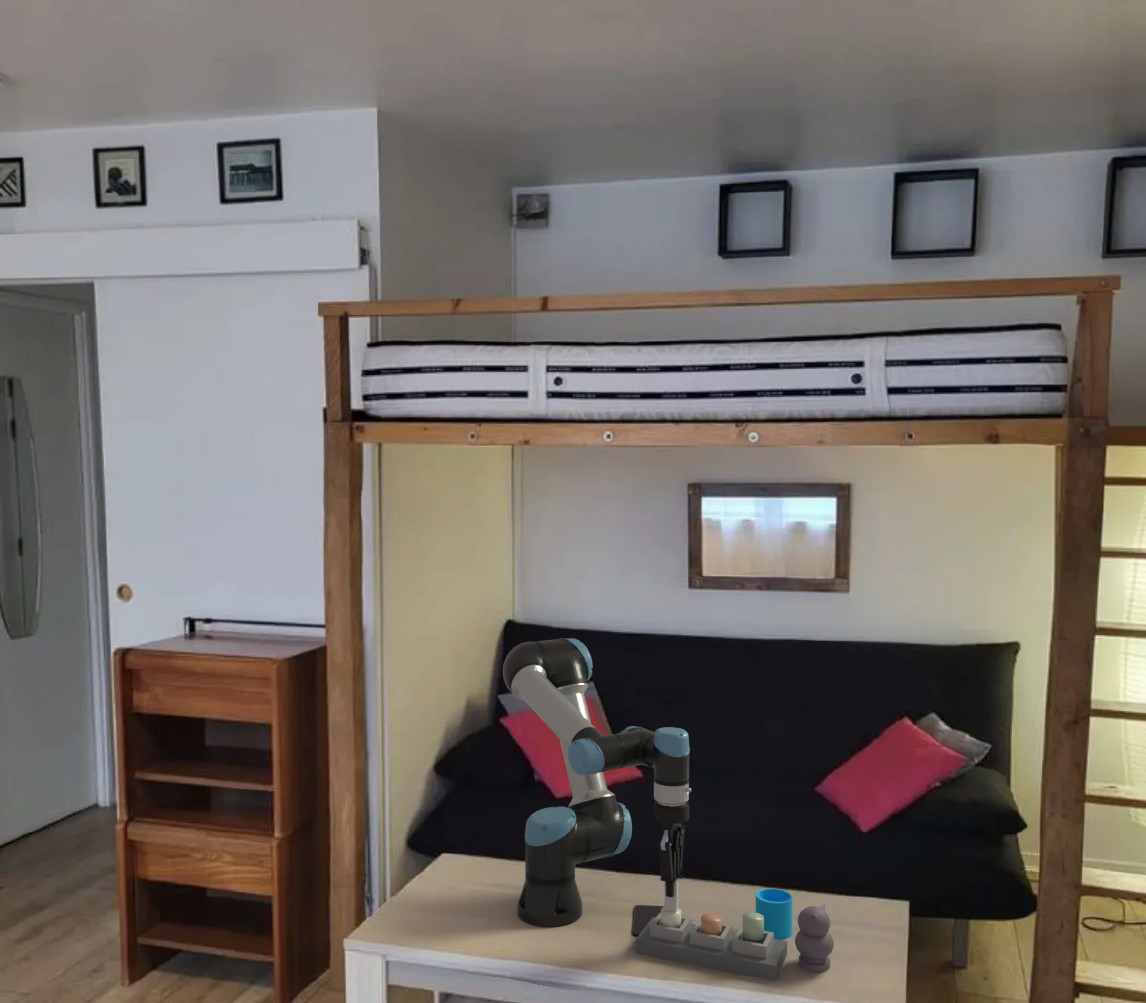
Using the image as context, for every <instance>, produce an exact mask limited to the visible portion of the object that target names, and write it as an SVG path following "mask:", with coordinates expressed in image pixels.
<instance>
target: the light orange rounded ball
mask: <svg viewBox="0 0 1146 1003" xmlns="http://www.w3.org/2000/svg"><path fill="white" fill-rule="evenodd" d="M700 919H701V933H705V934H711V935H716V936H721V934H722V923H723V918H722V916H720V915H719V914H716V913H706V914H703V915H701V917H700Z"/></svg>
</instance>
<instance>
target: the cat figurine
mask: <svg viewBox="0 0 1146 1003" xmlns="http://www.w3.org/2000/svg"><path fill="white" fill-rule="evenodd" d="M797 924H798V928H799V931H797V933H796V935H795V937H794V944H795V948H796V950H797V951H798V953H799V955H798V965H799V967H800V968H802V969H803V970H805V971H808V972H812V973H824V972H827V971H828V970H830V968H831V959H830V957H829V956H830V955H831V954H832V953H833V950H834V947H835V942H834V939H833V936H832V935H831V933H829V930H830V927H831V919H830V916H829V914H828V913H827V912H826V903H823V904H822V905H819V906H815V905H811V906H807V907H805V908H804V909H802V910H801V911H800V912H799V915H798V917H797Z"/></svg>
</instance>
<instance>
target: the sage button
mask: <svg viewBox="0 0 1146 1003" xmlns="http://www.w3.org/2000/svg"><path fill="white" fill-rule="evenodd" d="M742 927H743V937H744V938H746V939H749V940H761V939H763V938H764V916H763V915H761V914H759V913H756V911H755V912H753V911H752V912H751V911H750V912H745V913H743V914H742Z"/></svg>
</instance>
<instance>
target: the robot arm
mask: <svg viewBox="0 0 1146 1003" xmlns="http://www.w3.org/2000/svg"><path fill="white" fill-rule="evenodd" d="M593 667H594V666H593V659H592V656H591V653H590V652H589V649H588V648H587V646H586V645H585V644H584V642H581V641H580V640H579V639H577V638H564V637H563V638H562V637H560V638H555V639H554V638H553V639H548V640H547V639H546V640H537V641H525V642H521V643H520V644H518V645H516V646H514V647H513V648H512V649H511V650H510V651H509V652H508V654H507V655H506V657H505V660H504V662H503V666H502V677H503V681H504V684H505V686H506V688H507V689H508V691H509V692H510V693H511V694H512V696H514V697H515V698H516V699H517V700H520V701H524V702H525V703H526V704H527V705H528V707H530V709H531V710H532V711H533V712H534V713H535V714H536V715H537V717H539V718H540V719H541V720H542V721H543V723H544V724H545V725H546V726H547V727H548V728H549V730H551V731H552V732H553V733H554V735H555V736H556V737H557V739H559V742H560V747H561V751H562V756H563V760H564V764H565V769H566V774H567V778H568V781H569V782H568V783H569V787H570V791H571V794H572V799H571V801H570V803H569V804H568V807H566V806H556V807H555V806H551V807H550V806H549V807H545V808H542V809H539V810H537V811H535V812H533V813H532V814H531V815H530V816H529V817H528V818H527V820H526V823H525V833H524V841H525V846H524V847H525V850H524V851H525V852H524V854H525V856H524V857H525V858H524V859H525V860H524V862H525V864H524V866H525V874H524V875H525V876H524V877H525V880H524V883H523V886H522V890H521V892H520V894H519V898H518V901H517V915H518V918H519V919H521V920H522V921H523V922H526V923H528V924H530V925H534V926H539V927H560V926H566V925H570V924H572V923H575V922H576V921H577V920H579V919H580V918H581V917H582V915H583V900H582V897H581V894H580V891H579V888H578V885H577V882H576V865H578V864H582V863H586V862H591V861H595V860H600V859H603V858H609V857H612V856H614V855H618V854H621V853H622V852H624V851H625V850H626V849H627V847H628V846H629V843H630V840H631V838H632V833H633V832H632V830H633V825H632V824H633V823H632V822H633V821H632V818H631V814H630V812H629V809H628V808H626V806H625V805H624V804H623V803H620V802H618V801H617V797H616V794H615V793H613V792H612V791H611V790H609V789H608V787H607V784H606V779H605V776H604V772H609V771H613V770H614V771H615V770H618V769H619V770H620V769H625V768H630V767H631V768H632V767H637V766H646V767H648V768H651V769H654V771H653V772H654V776H653V777H654V778H653V799H654V800H655V801H654V803H653V810H654V811H653V814H654V815H653V816H654V819H655V820H656V821H657V822H660V823H661V824H662V825H661V828H660V832H659V834H660V838H661V839H660V840H658V841H657V843H656V844H657V849H658V857H659V870H660V878H659V880H660V881H661V882H664V906H665V909H664V910H669V911H674V912H677V911H678V908H679V894H680V893H679V888H680V887H679V882H680V881H679V880H680V879H683V876H684V875H683V874H680V873H681V872H682V870H683V854H684V843H685V842H684V840H685V839H684V838H685V833H686V832H685V831H686V825H684V823H686V822H688V821H689V819H690V803H689V802H688V801H689V799H690V798H689V796H690V793H691V792H692V788H691V787H689V786H690V784H689V783H690V751H691V748H690V739H689V733H688V732H687V731H686V730H685V729H683V728H681V727H673V726H669V727H668V726H665V727H660V728H658V729H655V731H652V730H649V729H647V728H644V727H643V726H635V725H634V726H633V725H631V726H627V727H626V728H624V730H622V731H620V732H619V733H612V734H606V735H605V734H602V733H601V732H600V731H599V730H598V729H597V728H596V727H595V726H594V725H593V724H592V722H591V721H592V720H591V718H590V714H589V710H588V704H587V702H586V697H585V696H586V695H585V692H586V691H587V689H588V687H589V684H588V681H589V680H590V679H591V677H592V675H593V670H592V669H593Z"/></svg>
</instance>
